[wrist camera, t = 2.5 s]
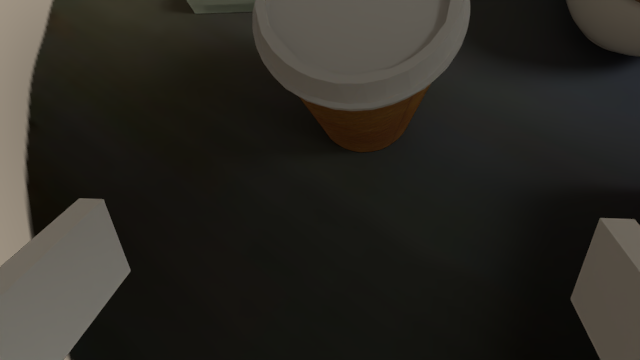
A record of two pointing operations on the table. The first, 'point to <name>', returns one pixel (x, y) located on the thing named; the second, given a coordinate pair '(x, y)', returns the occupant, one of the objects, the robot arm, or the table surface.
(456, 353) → the table surface
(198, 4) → the tray
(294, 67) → the disposable coffee cup
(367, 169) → the table surface
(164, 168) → the table surface
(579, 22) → the lidded jar
